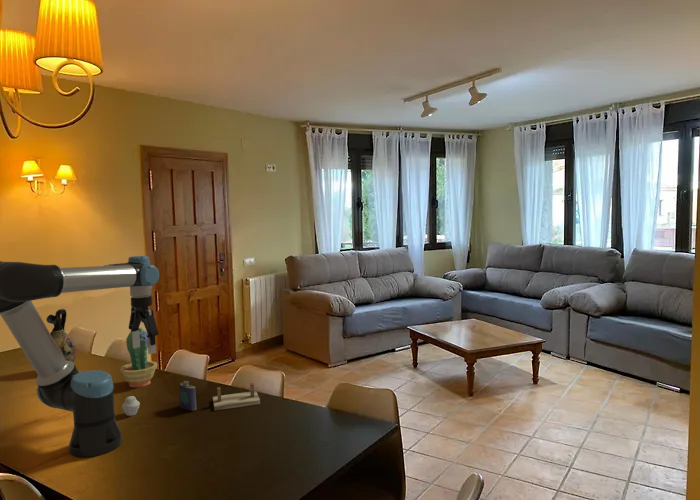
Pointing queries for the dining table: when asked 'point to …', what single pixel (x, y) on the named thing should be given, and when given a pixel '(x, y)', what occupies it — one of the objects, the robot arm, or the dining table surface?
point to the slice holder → (235, 399)
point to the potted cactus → (138, 362)
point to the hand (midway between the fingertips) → (144, 350)
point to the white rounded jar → (130, 406)
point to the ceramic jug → (62, 335)
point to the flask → (187, 396)
